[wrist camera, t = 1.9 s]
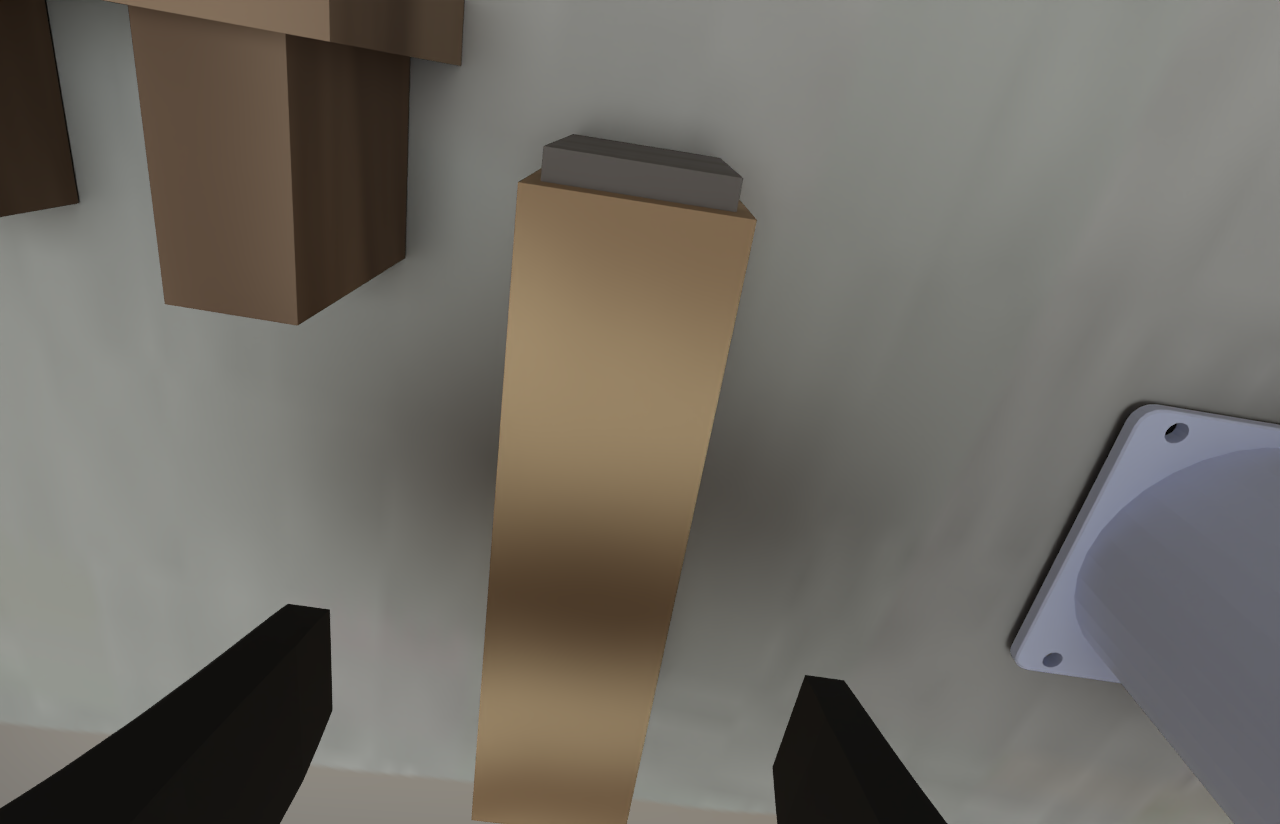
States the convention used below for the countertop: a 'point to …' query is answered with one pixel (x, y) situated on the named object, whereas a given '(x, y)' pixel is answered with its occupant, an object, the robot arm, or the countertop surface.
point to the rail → (599, 463)
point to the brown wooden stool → (246, 139)
